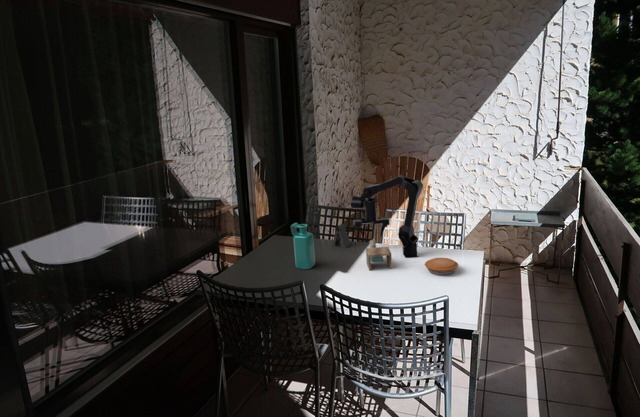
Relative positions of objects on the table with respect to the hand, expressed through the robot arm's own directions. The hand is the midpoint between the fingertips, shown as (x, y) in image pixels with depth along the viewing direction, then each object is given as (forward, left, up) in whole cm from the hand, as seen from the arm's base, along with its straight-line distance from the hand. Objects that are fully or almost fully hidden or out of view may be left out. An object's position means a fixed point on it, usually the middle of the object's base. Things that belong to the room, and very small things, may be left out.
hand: (371, 237), depth 277 cm
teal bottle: (+37, +16, -8) cm, 41 cm away
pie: (-28, +36, -8) cm, 46 cm away
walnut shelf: (0, +23, -7) cm, 25 cm away
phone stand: (+16, -13, -8) cm, 22 cm away
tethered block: (0, +8, -7) cm, 11 cm away
